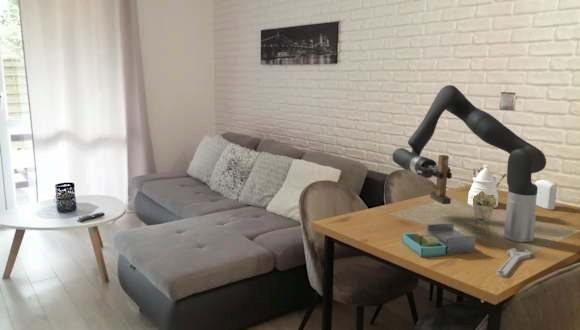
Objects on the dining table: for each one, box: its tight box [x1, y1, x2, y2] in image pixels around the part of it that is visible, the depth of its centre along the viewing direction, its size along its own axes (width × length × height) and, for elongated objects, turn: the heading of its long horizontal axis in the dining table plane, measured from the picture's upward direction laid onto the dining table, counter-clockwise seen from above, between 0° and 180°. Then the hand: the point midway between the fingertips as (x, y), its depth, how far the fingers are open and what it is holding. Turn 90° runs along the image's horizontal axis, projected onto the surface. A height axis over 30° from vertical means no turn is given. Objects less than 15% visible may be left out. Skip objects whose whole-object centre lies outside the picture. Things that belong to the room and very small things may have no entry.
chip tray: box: [401, 232, 447, 258], centre depth 152 cm, size 9×14×3 cm, turn 12°
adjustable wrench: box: [496, 247, 532, 278], centre depth 140 cm, size 25×6×2 cm, turn 135°
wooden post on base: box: [429, 154, 452, 205], centre depth 163 cm, size 3×9×17 cm, turn 12°
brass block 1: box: [414, 230, 431, 246], centre depth 154 cm, size 4×4×4 cm
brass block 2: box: [421, 236, 439, 248], centre depth 149 cm, size 4×4×4 cm
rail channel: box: [425, 222, 476, 256], centre depth 153 cm, size 10×14×6 cm
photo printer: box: [534, 179, 558, 211], centre depth 201 cm, size 10×4×12 cm, turn 13°
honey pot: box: [467, 164, 499, 208], centre depth 205 cm, size 13×13×18 cm
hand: (446, 176), depth 159 cm, fingers closed on wooden post on base, 2 cm apart
